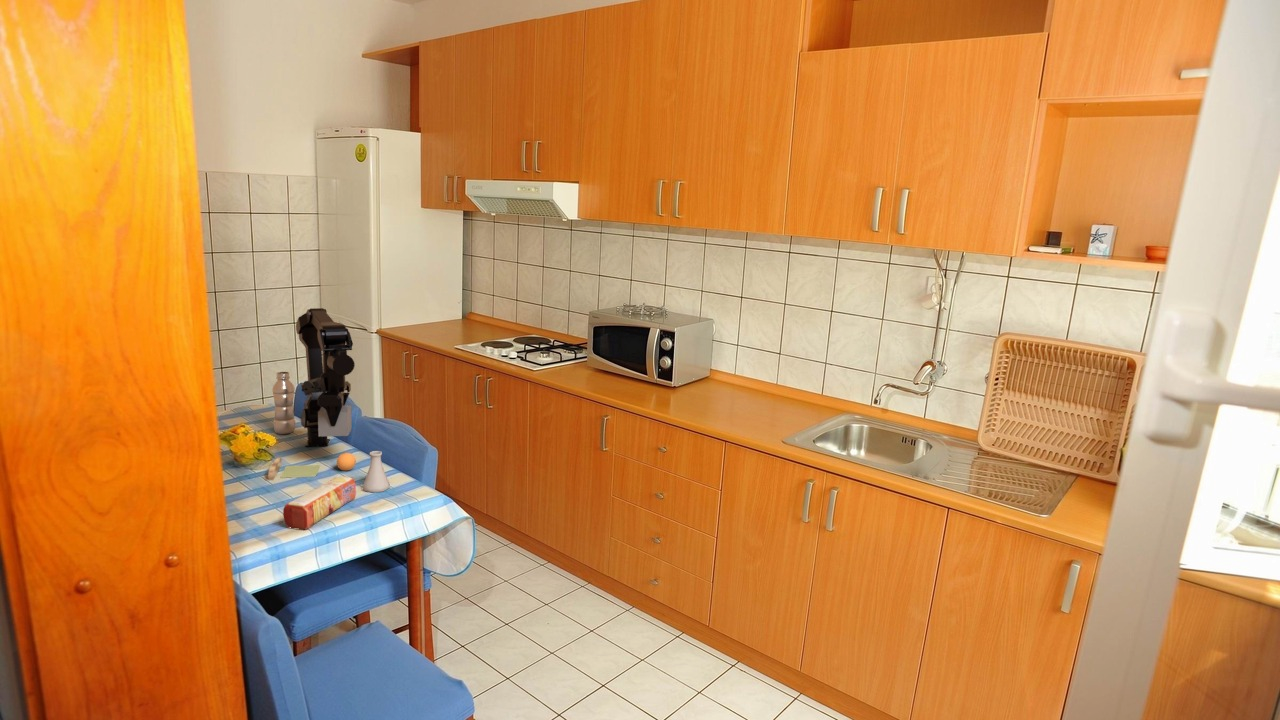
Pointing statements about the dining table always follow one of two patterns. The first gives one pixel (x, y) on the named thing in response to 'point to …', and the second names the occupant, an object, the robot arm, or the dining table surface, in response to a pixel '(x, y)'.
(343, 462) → the ball
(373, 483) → the flask
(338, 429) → the smooth grey cube
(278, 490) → the dining table surface
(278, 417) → the plastic bottle
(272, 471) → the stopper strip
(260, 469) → the dining table surface
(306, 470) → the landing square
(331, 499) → the snack package
